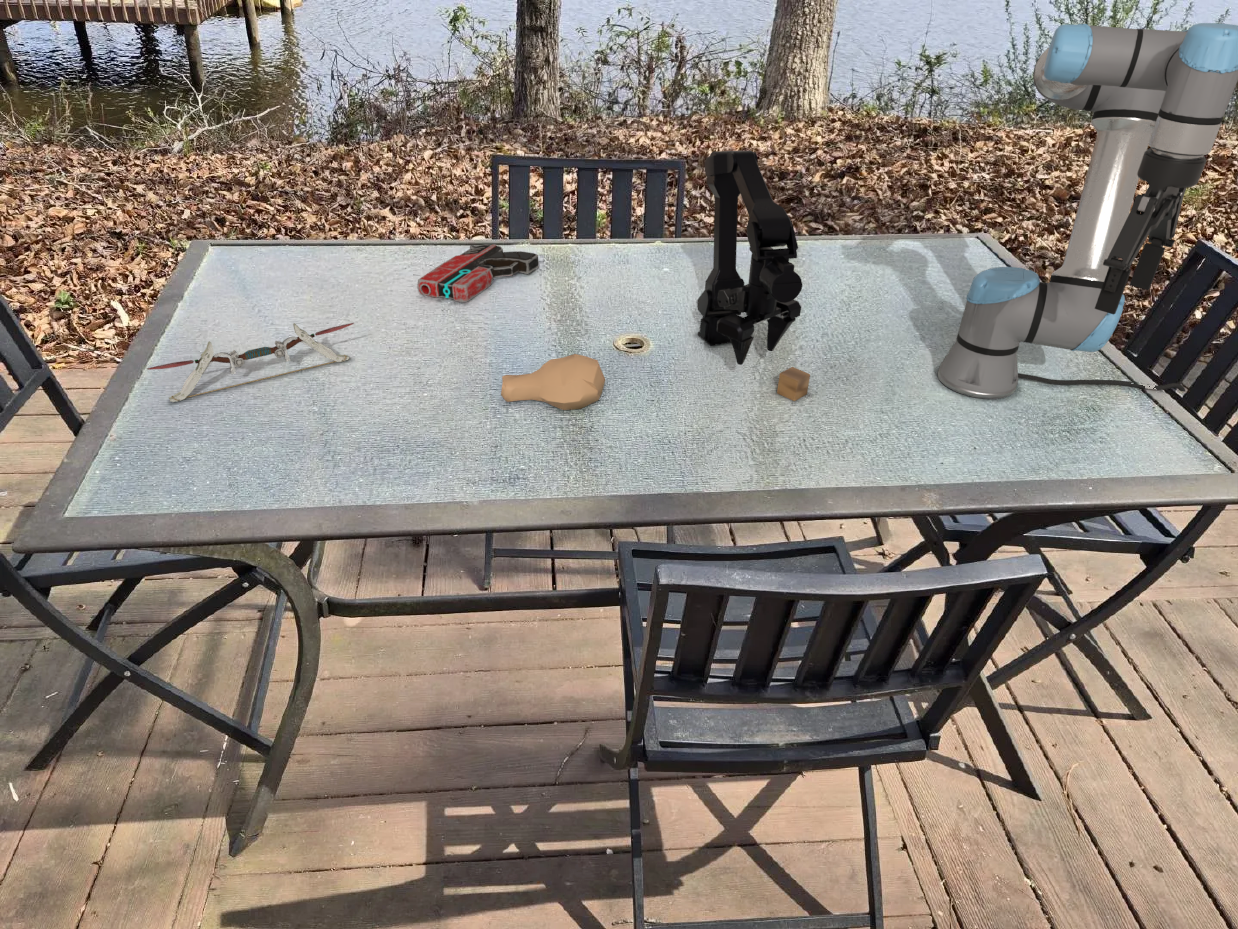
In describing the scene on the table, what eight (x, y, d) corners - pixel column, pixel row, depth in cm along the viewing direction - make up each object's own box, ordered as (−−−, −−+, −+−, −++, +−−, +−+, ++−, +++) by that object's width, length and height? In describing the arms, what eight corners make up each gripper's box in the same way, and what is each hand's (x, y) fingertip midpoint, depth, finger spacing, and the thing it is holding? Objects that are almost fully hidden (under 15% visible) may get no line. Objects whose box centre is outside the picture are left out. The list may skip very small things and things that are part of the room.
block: (789, 386, 176) (792, 366, 173) (807, 394, 173) (810, 374, 171) (776, 393, 173) (779, 373, 171) (794, 401, 171) (797, 381, 168)
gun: (542, 248, 224) (475, 239, 230) (485, 289, 199) (411, 278, 205) (543, 265, 226) (476, 256, 232) (486, 308, 202) (414, 296, 207)
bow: (357, 354, 182) (350, 309, 176) (360, 358, 181) (353, 313, 175) (156, 402, 164) (141, 354, 158) (158, 406, 162) (143, 358, 157)
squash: (607, 416, 164) (601, 378, 158) (502, 424, 166) (492, 387, 160) (608, 380, 172) (602, 343, 166) (508, 388, 174) (499, 351, 167)
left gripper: (762, 258, 174) (753, 331, 183) (698, 281, 163) (692, 357, 172) (807, 274, 167) (796, 349, 176) (744, 299, 157) (735, 377, 165)
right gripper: (1178, 132, 128) (1128, 271, 140) (1112, 161, 113) (1062, 313, 125) (1235, 142, 124) (1178, 284, 136) (1174, 174, 109) (1116, 330, 121)
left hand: (755, 357), depth 172 cm, fingers open, 9 cm apart
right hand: (1122, 298), depth 130 cm, fingers open, 13 cm apart
